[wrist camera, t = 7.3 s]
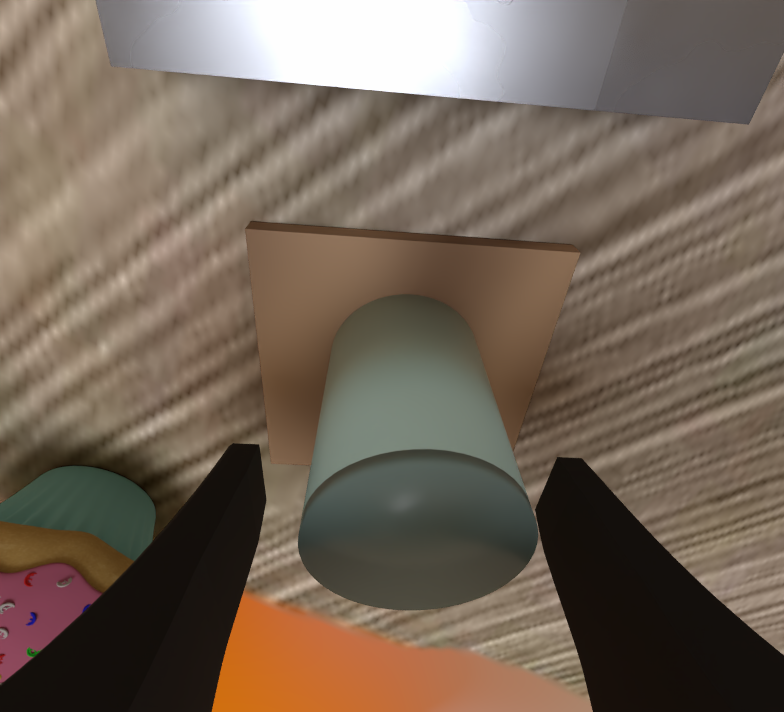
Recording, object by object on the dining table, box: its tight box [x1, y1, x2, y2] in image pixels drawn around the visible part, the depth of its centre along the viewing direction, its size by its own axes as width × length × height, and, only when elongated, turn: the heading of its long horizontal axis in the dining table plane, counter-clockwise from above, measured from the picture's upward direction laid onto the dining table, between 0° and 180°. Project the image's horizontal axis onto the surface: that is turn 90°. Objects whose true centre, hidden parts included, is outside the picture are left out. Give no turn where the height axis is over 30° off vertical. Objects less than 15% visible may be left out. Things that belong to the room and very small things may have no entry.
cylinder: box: [298, 294, 538, 610], centre depth 11 cm, size 5×5×6 cm
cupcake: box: [0, 466, 156, 684], centre depth 14 cm, size 9×8×12 cm
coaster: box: [245, 222, 580, 465], centre depth 15 cm, size 9×9×1 cm
